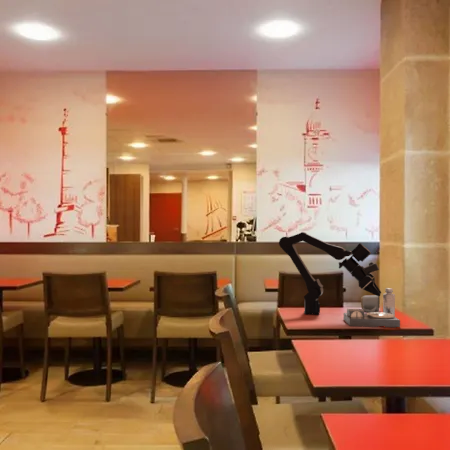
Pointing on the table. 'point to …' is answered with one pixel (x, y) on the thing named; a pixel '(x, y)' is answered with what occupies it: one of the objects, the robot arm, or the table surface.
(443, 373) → the table surface
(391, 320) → the bench scale
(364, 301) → the ceramic mug
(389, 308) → the steel weight
